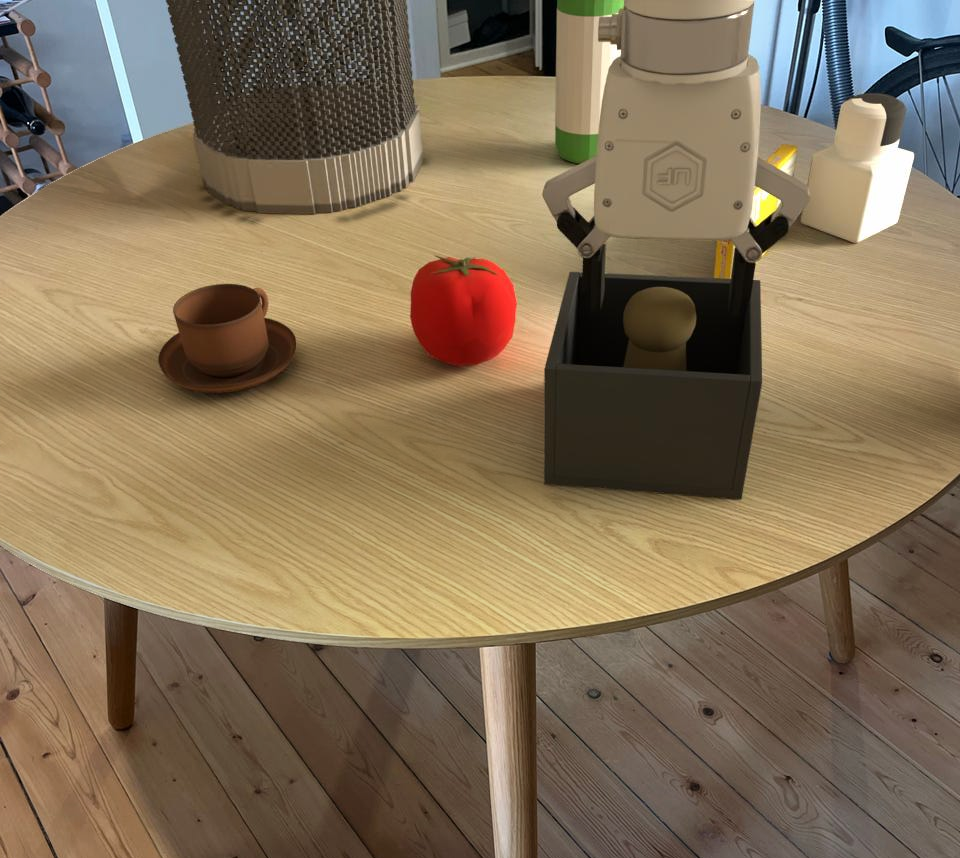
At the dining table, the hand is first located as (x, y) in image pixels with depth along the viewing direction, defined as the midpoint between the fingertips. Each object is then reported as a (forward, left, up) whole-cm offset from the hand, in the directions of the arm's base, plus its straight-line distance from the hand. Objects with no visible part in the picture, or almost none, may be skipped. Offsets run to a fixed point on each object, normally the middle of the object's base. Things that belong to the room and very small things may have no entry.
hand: (664, 305), depth 73 cm
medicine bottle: (-18, -41, -11) cm, 46 cm away
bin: (0, 0, -11) cm, 11 cm away
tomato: (+17, -11, -11) cm, 23 cm away
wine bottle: (+11, -58, -11) cm, 60 cm away
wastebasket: (+43, -51, -11) cm, 68 cm away
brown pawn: (0, 0, -10) cm, 10 cm away
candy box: (-8, -32, -11) cm, 35 cm away
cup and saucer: (+37, -6, -11) cm, 39 cm away
